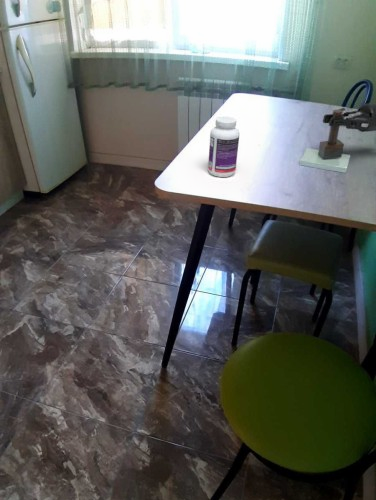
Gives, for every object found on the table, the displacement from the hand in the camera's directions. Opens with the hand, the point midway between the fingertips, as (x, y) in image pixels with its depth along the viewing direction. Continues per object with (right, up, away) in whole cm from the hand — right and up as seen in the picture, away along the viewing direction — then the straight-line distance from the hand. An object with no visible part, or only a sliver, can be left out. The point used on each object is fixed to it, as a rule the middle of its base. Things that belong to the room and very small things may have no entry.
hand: (327, 120), depth 120 cm
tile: (+2, -8, +9) cm, 13 cm away
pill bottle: (-31, -16, 0) cm, 35 cm away
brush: (+4, -7, +8) cm, 11 cm away
